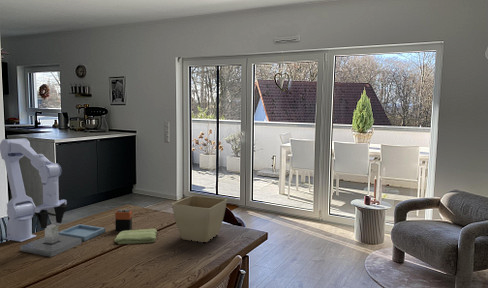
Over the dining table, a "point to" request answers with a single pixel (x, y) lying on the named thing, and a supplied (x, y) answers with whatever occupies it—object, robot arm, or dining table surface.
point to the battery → (123, 220)
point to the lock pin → (52, 234)
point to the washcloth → (136, 236)
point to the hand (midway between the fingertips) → (51, 225)
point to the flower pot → (199, 217)
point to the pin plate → (50, 246)
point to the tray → (82, 232)
